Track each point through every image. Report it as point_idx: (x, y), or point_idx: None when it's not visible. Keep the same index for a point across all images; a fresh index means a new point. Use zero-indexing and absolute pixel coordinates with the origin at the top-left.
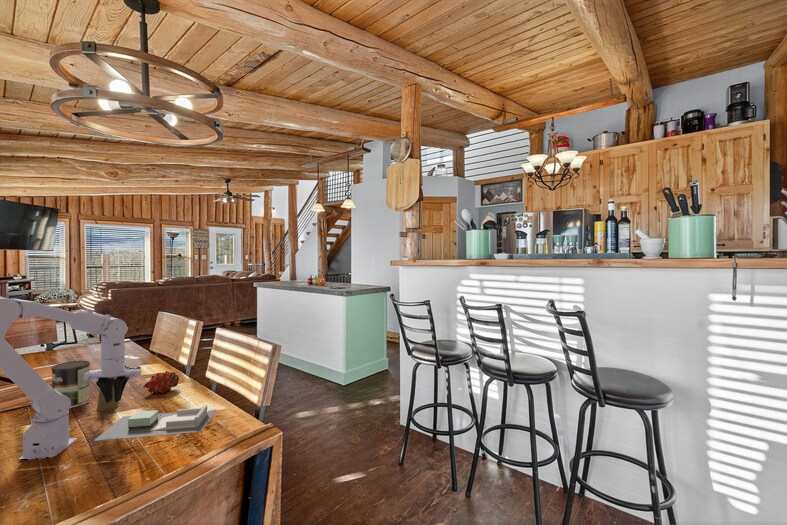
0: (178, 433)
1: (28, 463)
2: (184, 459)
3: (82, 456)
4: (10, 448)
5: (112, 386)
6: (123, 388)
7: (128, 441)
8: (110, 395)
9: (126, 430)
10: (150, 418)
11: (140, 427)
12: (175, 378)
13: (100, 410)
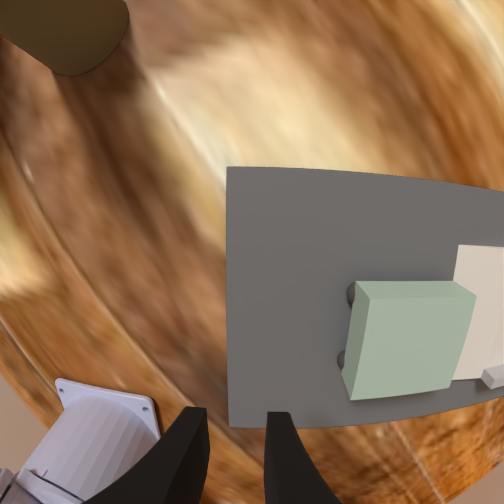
0: (499, 396)
1: None
2: (481, 477)
3: (253, 485)
4: (4, 372)
5: (162, 499)
6: (325, 496)
7: (364, 435)
8: (197, 464)
9: (332, 369)
10: (447, 380)
11: None
12: None
13: (63, 73)
